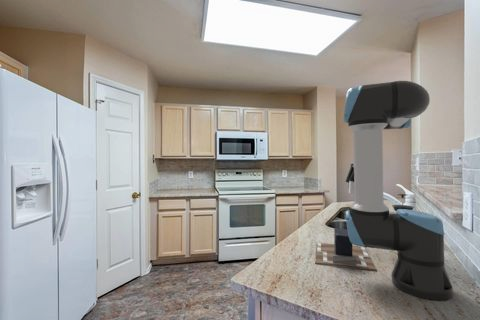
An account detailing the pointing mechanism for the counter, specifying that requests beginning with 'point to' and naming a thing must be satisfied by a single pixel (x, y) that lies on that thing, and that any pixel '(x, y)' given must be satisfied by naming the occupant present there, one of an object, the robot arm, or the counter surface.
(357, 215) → the robot arm
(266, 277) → the counter surface
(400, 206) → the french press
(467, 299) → the counter surface
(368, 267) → the keyhole plate
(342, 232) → the small box
